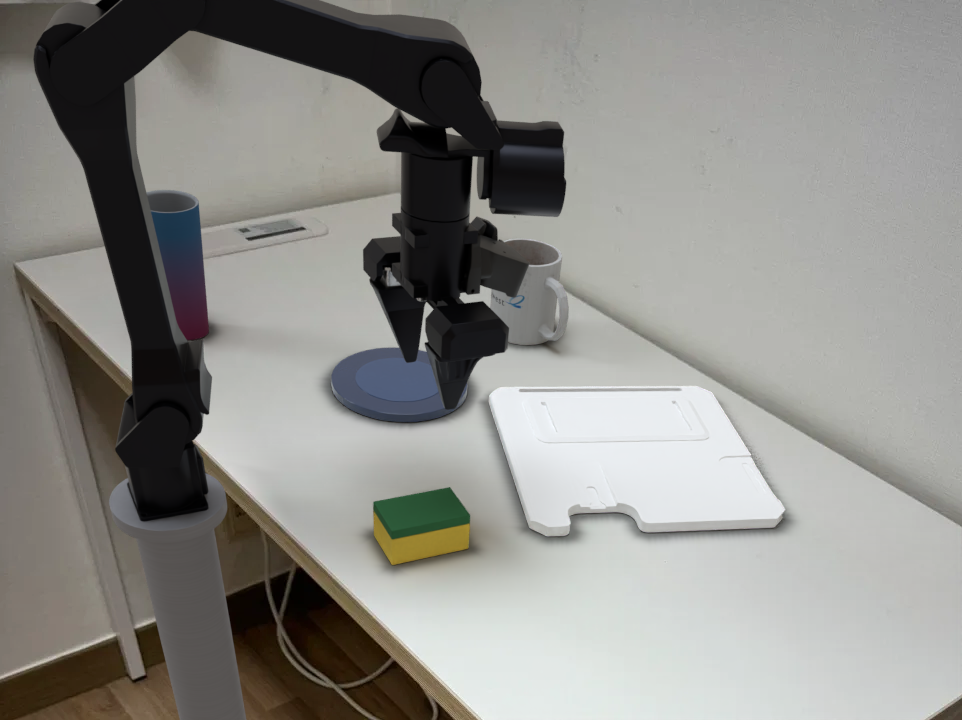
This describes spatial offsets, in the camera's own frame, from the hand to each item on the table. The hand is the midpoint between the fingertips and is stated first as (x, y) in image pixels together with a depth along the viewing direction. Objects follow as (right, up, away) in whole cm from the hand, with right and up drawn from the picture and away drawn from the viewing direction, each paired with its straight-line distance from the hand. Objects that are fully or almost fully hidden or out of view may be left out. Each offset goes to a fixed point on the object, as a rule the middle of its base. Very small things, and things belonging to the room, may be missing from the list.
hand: (429, 384), depth 92 cm
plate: (-6, +8, +24) cm, 26 cm away
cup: (-33, +16, +28) cm, 46 cm away
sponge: (-1, -14, +4) cm, 15 cm away
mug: (+9, +19, +37) cm, 42 cm away
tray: (+20, -2, +19) cm, 28 cm away
